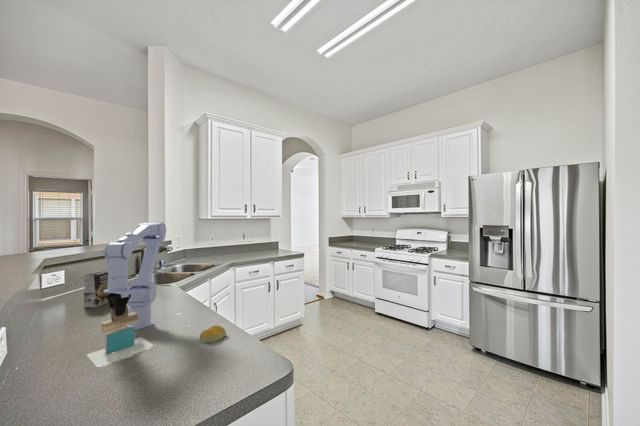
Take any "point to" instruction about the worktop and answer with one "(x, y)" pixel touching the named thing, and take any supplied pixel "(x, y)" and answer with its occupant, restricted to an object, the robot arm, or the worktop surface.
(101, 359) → the rubber mat
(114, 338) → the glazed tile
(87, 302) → the coffee box
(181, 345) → the worktop surface
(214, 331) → the bread roll
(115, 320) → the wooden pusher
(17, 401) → the worktop surface
